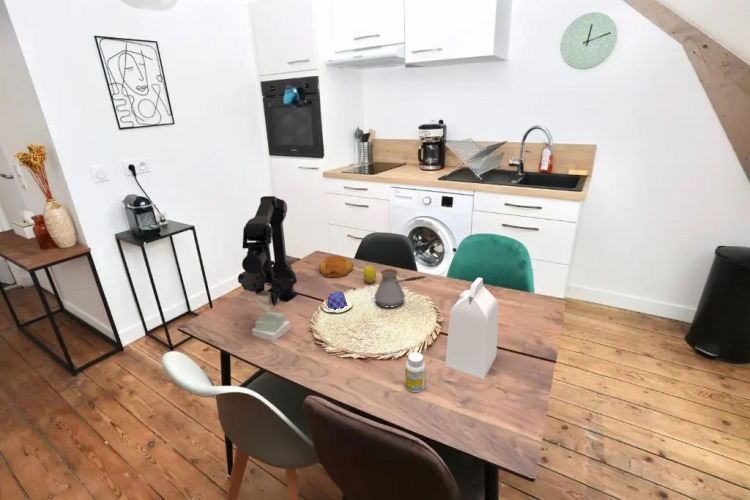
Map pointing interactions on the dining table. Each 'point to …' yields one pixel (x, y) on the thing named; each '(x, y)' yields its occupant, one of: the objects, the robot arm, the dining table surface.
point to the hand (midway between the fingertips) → (268, 303)
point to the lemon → (369, 274)
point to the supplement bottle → (415, 372)
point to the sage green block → (270, 322)
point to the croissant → (335, 267)
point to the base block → (272, 335)
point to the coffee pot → (391, 288)
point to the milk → (473, 331)
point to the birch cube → (265, 300)
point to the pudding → (336, 301)
